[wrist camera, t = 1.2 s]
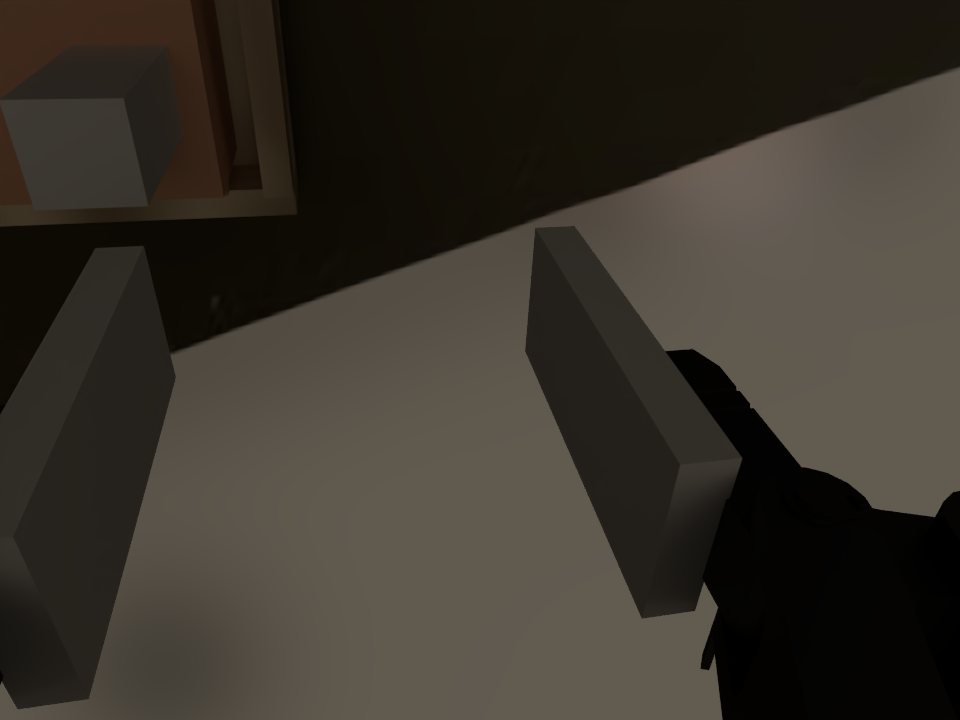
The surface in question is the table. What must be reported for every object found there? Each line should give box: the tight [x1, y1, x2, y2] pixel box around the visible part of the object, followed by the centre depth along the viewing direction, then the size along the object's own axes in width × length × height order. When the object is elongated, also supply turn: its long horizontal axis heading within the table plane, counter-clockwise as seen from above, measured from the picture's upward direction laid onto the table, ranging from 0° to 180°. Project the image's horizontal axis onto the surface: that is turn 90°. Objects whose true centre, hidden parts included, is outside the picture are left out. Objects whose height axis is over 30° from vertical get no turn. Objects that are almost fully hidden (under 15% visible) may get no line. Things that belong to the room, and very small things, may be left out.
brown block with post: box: [0, 0, 237, 210], centre depth 25 cm, size 9×9×13 cm
